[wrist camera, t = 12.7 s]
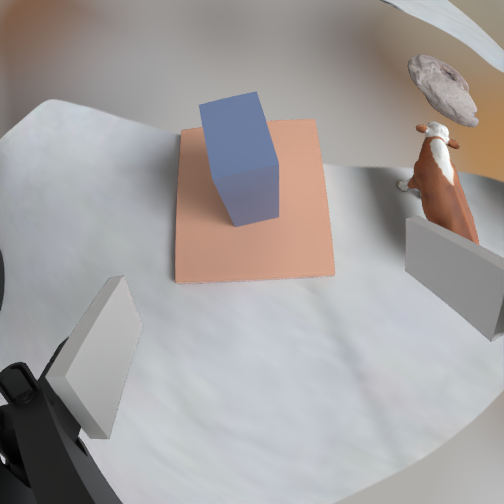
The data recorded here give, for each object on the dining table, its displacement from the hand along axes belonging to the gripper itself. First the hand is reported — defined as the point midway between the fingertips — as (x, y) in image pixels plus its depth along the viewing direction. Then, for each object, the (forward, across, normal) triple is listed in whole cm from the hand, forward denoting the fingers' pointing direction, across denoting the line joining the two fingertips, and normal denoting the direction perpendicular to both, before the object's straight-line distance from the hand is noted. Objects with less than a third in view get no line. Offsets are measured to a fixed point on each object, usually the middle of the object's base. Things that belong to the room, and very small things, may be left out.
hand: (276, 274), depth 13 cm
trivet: (+17, +1, 0) cm, 17 cm away
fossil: (+21, +28, +10) cm, 36 cm away
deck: (+16, +1, +1) cm, 16 cm away
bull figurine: (+13, +17, -3) cm, 22 cm away
